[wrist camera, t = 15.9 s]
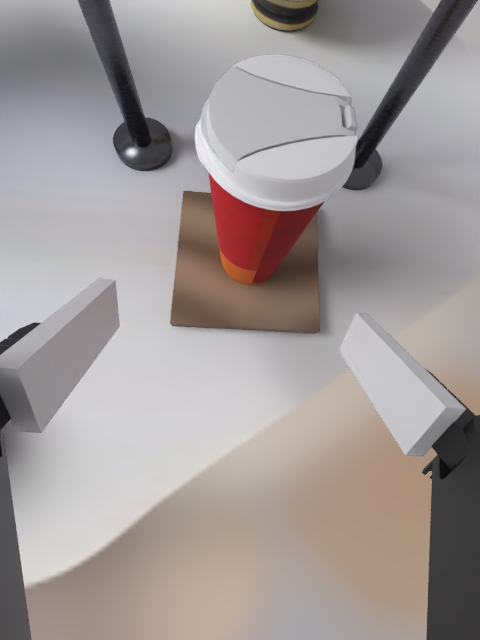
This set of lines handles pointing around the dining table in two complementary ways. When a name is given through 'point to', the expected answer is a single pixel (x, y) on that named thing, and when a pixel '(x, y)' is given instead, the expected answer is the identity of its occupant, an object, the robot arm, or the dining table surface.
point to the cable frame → (154, 140)
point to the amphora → (285, 13)
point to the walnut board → (233, 297)
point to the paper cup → (272, 156)
